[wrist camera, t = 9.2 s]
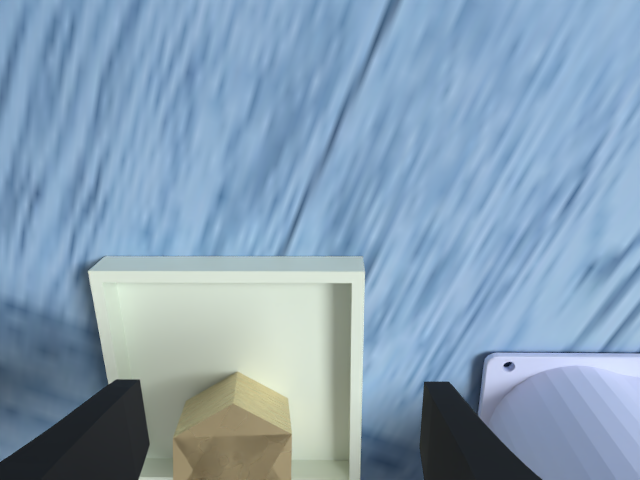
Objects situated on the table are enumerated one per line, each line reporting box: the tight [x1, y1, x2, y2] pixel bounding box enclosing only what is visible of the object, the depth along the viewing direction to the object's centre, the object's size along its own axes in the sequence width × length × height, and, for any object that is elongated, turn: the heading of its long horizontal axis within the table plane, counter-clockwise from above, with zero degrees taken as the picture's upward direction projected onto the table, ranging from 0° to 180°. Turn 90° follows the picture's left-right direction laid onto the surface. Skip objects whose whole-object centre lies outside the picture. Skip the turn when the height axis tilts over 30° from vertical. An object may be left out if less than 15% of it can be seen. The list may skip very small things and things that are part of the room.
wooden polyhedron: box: [173, 372, 292, 480], centre depth 22 cm, size 5×5×3 cm
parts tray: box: [88, 256, 365, 480], centre depth 23 cm, size 11×11×2 cm
